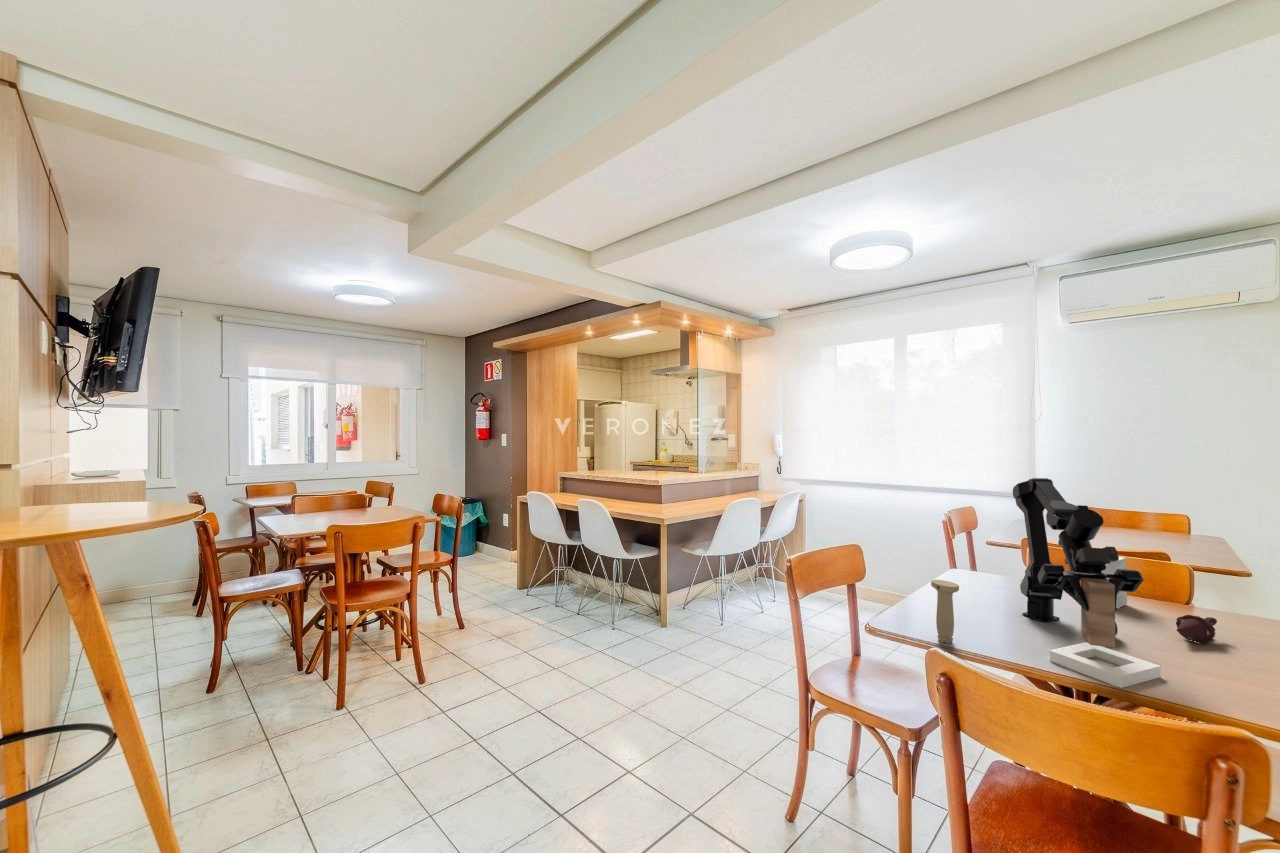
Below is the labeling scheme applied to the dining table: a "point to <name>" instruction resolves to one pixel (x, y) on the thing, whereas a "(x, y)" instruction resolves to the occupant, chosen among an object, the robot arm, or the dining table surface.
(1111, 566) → the skincare box
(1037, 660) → the dining table surface
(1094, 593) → the peg
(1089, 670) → the socket block
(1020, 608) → the dining table surface
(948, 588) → the handle
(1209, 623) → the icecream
